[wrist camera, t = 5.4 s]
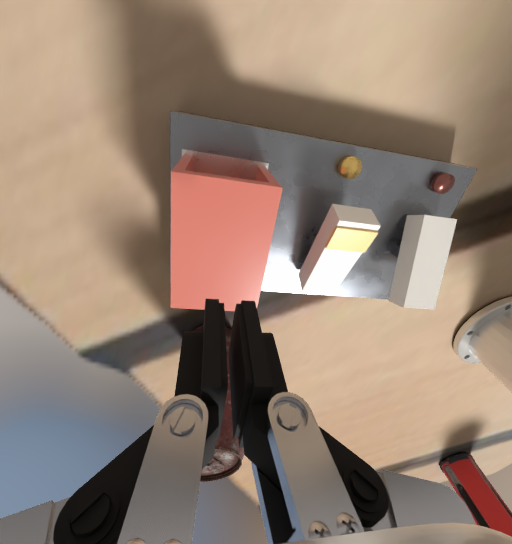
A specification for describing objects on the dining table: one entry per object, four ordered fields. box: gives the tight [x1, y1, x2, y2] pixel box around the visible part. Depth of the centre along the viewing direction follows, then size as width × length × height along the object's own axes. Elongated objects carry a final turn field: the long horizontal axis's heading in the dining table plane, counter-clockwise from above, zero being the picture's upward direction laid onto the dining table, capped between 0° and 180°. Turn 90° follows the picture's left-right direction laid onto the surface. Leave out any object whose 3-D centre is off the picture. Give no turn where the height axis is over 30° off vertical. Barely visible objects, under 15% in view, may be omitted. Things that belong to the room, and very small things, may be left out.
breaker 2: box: [389, 215, 457, 309], centre depth 23 cm, size 3×8×2 cm, turn 170°
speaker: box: [440, 453, 512, 537], centre depth 56 cm, size 8×8×18 cm
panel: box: [170, 111, 477, 299], centre depth 24 cm, size 25×14×4 cm, turn 80°
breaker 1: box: [298, 204, 381, 293], centre depth 22 cm, size 3×8×2 cm, turn 170°
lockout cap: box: [171, 154, 283, 311], centre depth 19 cm, size 6×9×6 cm, turn 170°
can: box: [194, 325, 244, 481], centre depth 27 cm, size 6×6×14 cm
